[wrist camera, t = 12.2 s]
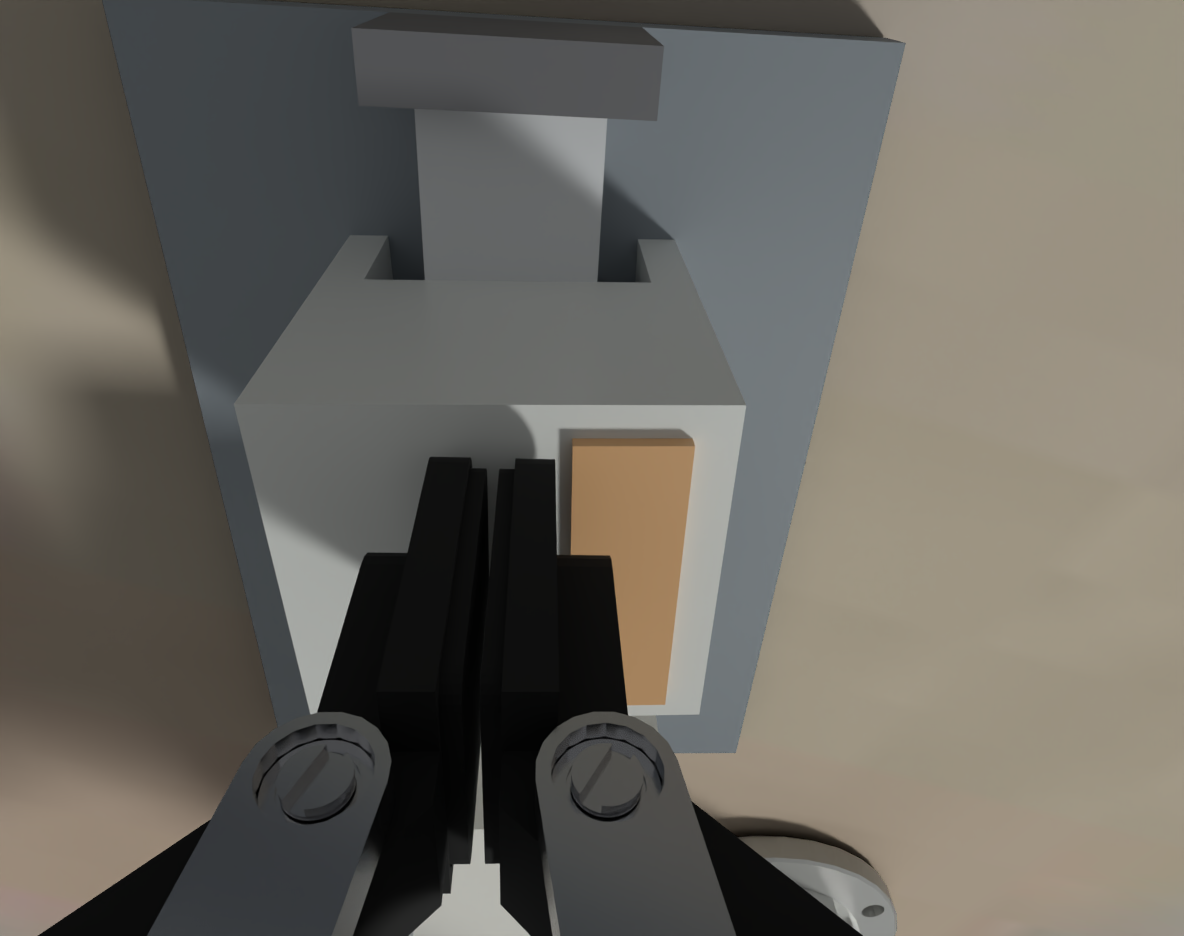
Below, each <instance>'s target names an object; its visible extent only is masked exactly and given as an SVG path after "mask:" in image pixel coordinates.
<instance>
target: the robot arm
mask: <svg viewBox="0 0 1184 936" xmlns="http://www.w3.org/2000/svg"><path fill="white" fill-rule="evenodd" d="M480 747H481V761H482V792H483V823H484V853H485V864H500V905H501V906H502V907H503V908H504V909H505V910H506V911H507V912H508V913H509V914H510V915H511V916H512V917H513V918H514V919H515V920H516V921H517V922H518V923H519V924H520V925H521V926H522V927H523V928H524V929H525V931H526V932H527V933H528V934H529V935H530V936H895V934H896V931H897V913H896V911H895V908H894V905H893V902H892V899H891V897H890V894H889V891H888V888H887V886H886V884H885V883H884V881H883V880H882V878H881V877H880V875H879V874H878V872H877V871H876V870H874V869H873V868H872V867H871V866H869V865H868V864H867V863H866V862H865V861H863V860H862V859H860V858H858V857H856V856H854V855H852V854H850V853H848V852H846V851H844V850H842V849H840V848H837V847H834V846H830V845H827V844H823V843H820V842H816V841H813V840H806V839H799V838H792V837H785V836H746V837H736V836H735V835H734V834H733V833H731V832H730V831H729V830H727V829H726V828H725V827H724V826H722V825H721V824H720V823H718V822H717V821H716V820H715V819H713V818H712V817H711V816H709V815H708V814H707V813H706V812H704V811H703V810H702V809H701V808H699V807H698V806H697V805H695V804H694V803H693V802H692V801H691V799H690V796H689V793H688V790H687V787H686V784H685V781H684V778H683V775H682V772H681V769H680V766H679V763H678V760H677V758H676V756H675V754H674V752H673V750H672V749H671V747H670V745H669V743H668V742H667V741H666V740H665V739H664V738H663V737H662V736H661V735H660V734H659V733H658V732H657V731H656V730H655V729H654V728H653V727H652V726H650V725H648V724H646V723H645V722H643V721H641V720H639V719H637V718H636V717H632V716H629V715H628V709H627V699H626V690H625V680H624V671H623V661H622V652H621V642H620V633H619V624H618V614H617V605H616V595H615V586H614V576H613V567H612V560H611V557H610V555H557V529H556V470H555V459H521V458H516V459H515V469H499V476H498V487H497V498H496V509H495V520H494V531H493V542H492V553H491V565H490V576H489V536H488V486H487V469H486V468H472V459H471V457H430V458H429V460H428V464H427V469H426V473H425V477H424V482H423V486H422V491H421V495H420V499H419V504H418V508H417V513H416V517H415V521H414V526H413V530H412V535H411V539H410V543H409V548H408V552H407V553H376V552H368V553H367V554H366V555H365V556H364V558H363V560H362V563H361V566H360V569H359V573H358V576H357V579H356V583H355V586H354V589H353V593H352V596H351V600H350V603H349V606H348V610H347V613H346V616H345V620H344V623H343V626H342V630H341V633H340V637H339V640H338V643H337V647H336V650H335V653H334V657H333V660H332V663H331V667H330V670H329V673H328V677H327V680H326V684H325V687H324V690H323V694H322V697H321V700H320V704H319V707H318V710H317V713H314V714H310V715H306V716H302V717H298V718H295V719H293V720H291V721H289V722H287V723H285V724H283V725H281V726H279V727H277V728H275V729H274V730H273V731H271V732H270V733H269V734H268V735H266V736H265V737H264V738H263V739H262V740H260V741H259V742H258V743H257V744H256V745H255V746H254V747H253V749H252V750H251V751H250V753H249V754H248V755H247V757H246V758H245V760H244V761H243V762H242V764H241V766H240V768H239V769H238V771H237V773H236V775H235V777H234V778H233V780H232V782H231V784H230V786H229V788H228V789H227V791H226V793H225V795H224V797H223V798H222V800H221V802H220V804H219V806H218V808H217V809H216V811H215V813H214V815H213V817H212V818H211V820H209V821H208V822H206V823H205V824H203V825H202V826H200V827H199V828H197V829H196V830H194V831H193V832H191V833H190V834H188V835H187V836H185V837H184V838H182V839H181V840H179V841H178V842H176V843H175V844H174V845H172V846H171V847H169V848H168V849H166V850H165V851H163V852H162V853H160V854H159V855H157V856H156V857H154V858H153V859H151V860H150V861H148V862H147V863H145V864H144V865H142V866H141V867H139V868H138V869H136V870H135V871H133V872H132V873H130V874H129V875H127V876H126V877H124V878H123V879H121V880H120V881H119V882H117V883H116V884H114V885H113V886H111V887H110V888H108V889H107V890H105V891H104V892H102V893H101V894H99V895H98V896H96V897H95V898H93V899H92V900H90V901H89V902H87V903H86V904H84V905H83V906H81V907H80V908H78V909H77V910H75V911H74V912H72V913H71V914H69V915H68V916H66V917H65V918H64V919H62V920H61V921H59V922H58V923H56V924H55V925H53V926H52V927H50V928H49V929H47V930H46V931H44V932H43V933H41V934H40V935H38V936H413V932H414V930H415V929H416V928H418V927H419V926H420V925H421V924H422V923H423V922H424V921H425V920H426V919H427V918H428V917H430V916H431V915H432V914H433V913H434V912H435V911H436V910H437V909H438V908H439V907H440V906H442V896H443V894H451V885H452V875H453V865H454V864H470V863H471V856H472V845H473V833H474V820H475V808H476V796H477V784H478V771H479V759H480Z"/></svg>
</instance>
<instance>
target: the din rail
mask: <svg viewBox="0 0 1184 936" xmlns="http://www.w3.org/2000/svg"><path fill="white" fill-rule="evenodd" d="M102 2H103V6H104V10H105V14H106V18H107V22H108V27H109V31H110V35H111V39H112V43H113V47H114V51H115V56H116V60H117V64H118V68H119V72H120V76H121V80H122V85H123V89H124V93H125V97H126V101H127V105H128V109H129V113H130V118H131V122H132V126H133V130H134V134H135V138H136V142H137V147H138V151H139V155H140V159H141V163H142V167H143V171H144V176H145V180H146V184H147V188H148V192H149V196H150V200H151V205H152V209H153V213H154V217H155V221H156V225H157V229H158V233H159V238H160V242H161V246H162V250H163V254H164V258H165V262H166V267H167V271H168V275H169V279H170V283H171V287H172V291H173V296H174V300H175V304H176V308H177V312H178V316H179V320H180V325H181V329H182V333H183V337H184V341H185V345H186V349H187V353H188V358H189V362H190V366H191V370H192V374H193V378H194V382H195V387H196V391H197V395H198V399H199V403H200V407H201V411H202V416H203V420H204V424H205V428H206V432H207V436H208V440H209V445H210V449H211V453H212V457H213V461H214V465H215V469H216V473H217V478H218V482H219V486H220V490H221V494H222V498H223V502H224V507H225V511H226V515H227V519H228V523H229V527H230V531H231V536H232V540H233V544H234V548H235V552H236V556H237V560H238V565H239V569H240V573H241V577H242V581H243V585H244V589H245V593H246V598H247V602H248V606H249V610H250V614H251V618H252V622H253V627H254V631H255V635H256V639H257V643H258V647H259V651H260V656H261V660H262V664H263V668H264V672H265V676H266V680H267V685H268V689H269V693H270V697H271V701H272V705H273V709H274V713H275V718H276V722H277V726H278V727H279V726H281V725H283V724H285V723H287V722H289V721H291V720H293V719H295V718H298V717H302V716H306V715H310V711H309V707H308V703H307V699H306V694H305V690H304V686H303V682H302V678H301V674H300V670H299V666H298V662H297V658H296V654H295V650H294V646H293V642H292V638H291V634H290V630H289V626H288V622H287V618H286V614H285V610H284V605H283V601H282V597H281V593H280V589H279V585H278V581H277V577H276V573H275V569H274V565H273V561H272V557H271V553H270V549H269V545H268V541H267V537H266V533H265V529H264V525H263V520H262V516H261V512H260V508H259V504H258V500H257V496H256V492H255V488H254V484H253V480H252V476H251V472H250V468H249V464H248V460H247V456H246V452H245V448H244V444H243V440H242V436H241V431H240V427H239V423H238V419H237V415H236V411H235V407H234V403H235V402H236V400H237V399H238V397H239V396H240V394H241V393H242V391H243V390H244V388H245V387H246V386H247V384H248V383H249V381H250V380H251V378H252V377H253V375H254V374H255V373H256V371H257V370H258V368H259V367H260V365H261V364H262V362H263V361H264V359H265V358H266V357H267V355H268V354H269V352H270V351H271V349H272V348H273V346H274V345H275V343H276V342H277V341H278V339H279V338H280V336H281V335H282V333H283V332H284V330H285V329H286V327H287V326H288V325H289V323H290V322H291V320H292V319H293V317H294V316H295V314H296V313H297V311H298V310H299V309H300V307H301V306H302V304H303V303H304V301H305V300H306V298H307V297H308V295H309V294H310V293H311V291H312V290H313V288H314V287H315V285H316V284H317V282H318V281H319V279H320V278H321V277H322V275H323V274H324V272H325V271H326V269H327V268H328V266H329V265H330V263H331V262H332V261H333V259H334V258H335V256H336V255H337V253H338V252H339V250H340V249H341V247H342V246H343V245H344V243H345V242H346V240H347V239H348V237H349V236H350V235H374V236H388V239H389V248H390V257H391V265H392V274H393V280H459V281H550V282H635V279H636V262H637V246H638V239H663V240H675V242H676V244H677V246H678V249H679V251H680V253H681V256H682V258H683V260H684V262H685V265H686V267H687V269H688V272H689V274H690V276H691V279H692V281H693V283H694V286H695V288H696V290H697V293H698V295H699V297H700V299H701V302H702V304H703V306H704V309H705V311H706V313H707V316H708V318H709V320H710V323H711V325H712V327H713V330H714V332H715V334H716V337H717V339H718V341H719V343H720V346H721V348H722V350H723V353H724V355H725V357H726V360H727V362H728V364H729V367H730V369H731V371H732V374H733V376H734V378H735V380H736V383H737V385H738V387H739V390H740V392H741V394H742V397H743V399H744V401H745V404H746V411H745V417H744V424H743V430H742V437H741V444H740V450H739V457H738V463H737V470H736V476H735V483H734V490H733V496H732V503H731V509H730V516H729V522H728V529H727V536H726V542H725V549H724V555H723V562H722V568H721V575H720V582H719V588H718V595H717V601H716V608H715V614H714V621H713V628H712V634H711V641H710V647H709V654H708V660H707V667H706V674H705V680H704V687H703V693H702V700H701V707H700V713H699V715H645V716H632V717H636V718H637V719H639V720H641V721H643V722H645V723H646V724H648V725H650V726H652V727H653V728H654V729H655V730H656V731H657V732H658V733H659V734H660V735H661V736H662V737H663V738H664V739H665V740H666V741H667V742H668V743H669V745H670V747H671V749H672V750H673V752H674V753H736V749H737V745H738V741H739V737H740V733H741V729H742V724H743V720H744V716H745V712H746V708H747V703H748V699H749V695H750V691H751V687H752V683H753V678H754V674H755V670H756V666H757V662H758V658H759V653H760V649H761V645H762V641H763V637H764V632H765V628H766V624H767V620H768V616H769V612H770V607H771V603H772V599H773V595H774V591H775V586H776V582H777V578H778V574H779V570H780V566H781V561H782V557H783V553H784V549H785V545H786V541H787V536H788V532H789V528H790V524H791V520H792V515H793V511H794V507H795V503H796V499H797V495H798V490H799V486H800V482H801V478H802V474H803V469H804V465H805V461H806V457H807V453H808V449H809V444H810V440H811V436H812V432H813V428H814V424H815V419H816V415H817V411H818V407H819V403H820V398H821V394H822V390H823V386H824V382H825V378H826V373H827V369H828V365H829V361H830V357H831V352H832V348H833V344H834V340H835V336H836V332H837V327H838V323H839V319H840V315H841V311H842V307H843V302H844V298H845V294H846V290H847V286H848V281H849V277H850V273H851V269H852V265H853V261H854V256H855V252H856V248H857V244H858V240H859V236H860V231H861V227H862V223H863V219H864V215H865V210H866V206H867V202H868V198H869V194H870V190H871V185H872V181H873V177H874V173H875V169H876V164H877V160H878V156H879V152H880V148H881V144H882V139H883V135H884V131H885V127H886V123H887V119H888V114H889V110H890V106H891V102H892V98H893V93H894V89H895V85H896V81H897V77H898V73H899V68H900V64H901V60H902V56H903V52H904V47H905V43H903V42H900V41H896V40H892V39H888V38H881V37H864V36H847V35H831V34H814V33H798V32H781V31H764V30H748V29H731V28H714V27H698V26H681V25H665V24H648V23H631V22H615V21H598V20H581V19H565V18H548V17H531V16H515V15H498V14H482V13H465V12H448V11H432V10H415V9H398V8H382V7H365V6H349V5H332V4H315V3H299V2H282V1H265V0H102ZM413 936H530V935H529V934H528V933H527V932H526V931H525V929H524V928H523V927H522V926H521V925H520V924H519V923H518V922H517V921H516V920H515V919H514V918H513V917H512V916H511V915H510V914H509V913H508V912H507V911H506V910H505V909H504V908H503V907H502V906H501V905H500V864H485V853H484V823H483V792H482V761H481V747H480V759H479V771H478V784H477V796H476V808H475V820H474V833H473V845H472V856H471V863H470V864H454V865H453V875H452V885H451V894H443V896H442V906H440V907H439V908H438V909H437V910H436V911H435V912H434V913H433V914H432V915H431V916H430V917H428V918H427V919H426V920H425V921H424V922H423V923H422V924H421V925H420V926H419V927H418V928H416V929H415V930H414V932H413Z"/></svg>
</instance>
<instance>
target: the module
mask: <svg viewBox="0 0 1184 936" xmlns="http://www.w3.org/2000/svg"><path fill="white" fill-rule="evenodd" d="M234 407H235V411H236V415H237V419H238V423H239V427H240V431H241V436H242V440H243V444H244V448H245V452H246V456H247V460H248V464H249V468H250V472H251V476H252V480H253V484H254V488H255V492H256V496H257V500H258V504H259V508H260V512H261V516H262V520H263V525H264V529H265V533H266V537H267V541H268V545H269V549H270V553H271V557H272V561H273V565H274V569H275V573H276V577H277V581H278V585H279V589H280V593H281V597H282V601H283V605H284V610H285V614H286V618H287V622H288V626H289V630H290V634H291V638H292V642H293V646H294V650H295V654H296V658H297V662H298V666H299V670H300V674H301V678H302V682H303V686H304V690H305V694H306V699H307V703H308V707H309V711H310V714H314V713H317V710H318V707H319V704H320V700H321V697H322V694H323V690H324V687H325V684H326V680H327V677H328V673H329V670H330V667H331V663H332V660H333V657H334V653H335V650H336V647H337V643H338V640H339V637H340V633H341V630H342V626H343V623H344V620H345V616H346V613H347V610H348V606H349V603H350V600H351V596H352V593H353V589H354V586H355V583H356V579H357V576H358V573H359V569H360V566H361V563H362V560H363V558H364V556H365V555H366V554H367V553H368V552H376V553H407V552H408V548H409V543H410V539H411V535H412V530H413V526H414V521H415V517H416V513H417V508H418V504H419V499H420V495H421V491H422V486H423V482H424V477H425V473H426V469H427V464H428V460H429V458H430V457H471V459H472V468H486V469H487V486H488V536H489V576H490V565H491V553H492V542H493V531H494V520H495V509H496V498H497V487H498V476H499V469H515V459H516V458H521V459H555V470H556V529H557V555H610V557H611V560H612V567H613V576H614V586H615V595H616V605H617V614H618V624H619V633H620V642H621V652H622V661H623V671H624V680H625V690H626V699H627V709H628V715H629V716H645V715H699V713H700V707H701V700H702V693H703V687H704V680H705V674H706V667H707V660H708V654H709V647H710V641H711V634H712V628H713V621H714V614H715V608H716V601H717V595H718V588H719V582H720V575H721V568H722V562H723V555H724V549H725V542H726V536H727V529H728V522H729V516H730V509H731V503H732V496H733V490H734V483H735V476H736V470H737V463H738V457H739V450H740V444H741V437H742V430H743V424H744V417H745V411H746V404H745V401H744V399H743V397H742V394H741V392H740V390H739V387H738V385H737V383H736V380H735V378H734V376H733V374H732V371H731V369H730V367H729V364H728V362H727V360H726V357H725V355H724V353H723V350H722V348H721V346H720V343H719V341H718V339H717V337H716V334H715V332H714V330H713V327H712V325H711V323H710V320H709V318H708V316H707V313H706V311H705V309H704V306H703V304H702V302H701V299H700V297H699V295H698V293H697V290H696V288H695V286H694V283H693V281H692V279H691V276H690V274H689V272H688V269H687V267H686V265H685V262H684V260H683V258H682V256H681V253H680V251H679V249H678V246H677V244H676V242H675V240H663V239H638V246H637V262H636V279H635V282H550V281H459V280H393V274H392V265H391V257H390V248H389V239H388V236H374V235H350V236H349V237H348V239H347V240H346V242H345V243H344V245H343V246H342V247H341V249H340V250H339V252H338V253H337V255H336V256H335V258H334V259H333V261H332V262H331V263H330V265H329V266H328V268H327V269H326V271H325V272H324V274H323V275H322V277H321V278H320V279H319V281H318V282H317V284H316V285H315V287H314V288H313V290H312V291H311V293H310V294H309V295H308V297H307V298H306V300H305V301H304V303H303V304H302V306H301V307H300V309H299V310H298V311H297V313H296V314H295V316H294V317H293V319H292V320H291V322H290V323H289V325H288V326H287V327H286V329H285V330H284V332H283V333H282V335H281V336H280V338H279V339H278V341H277V342H276V343H275V345H274V346H273V348H272V349H271V351H270V352H269V354H268V355H267V357H266V358H265V359H264V361H263V362H262V364H261V365H260V367H259V368H258V370H257V371H256V373H255V374H254V375H253V377H252V378H251V380H250V381H249V383H248V384H247V386H246V387H245V388H244V390H243V391H242V393H241V394H240V396H239V397H238V399H237V400H236V402H235V403H234Z"/></svg>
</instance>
